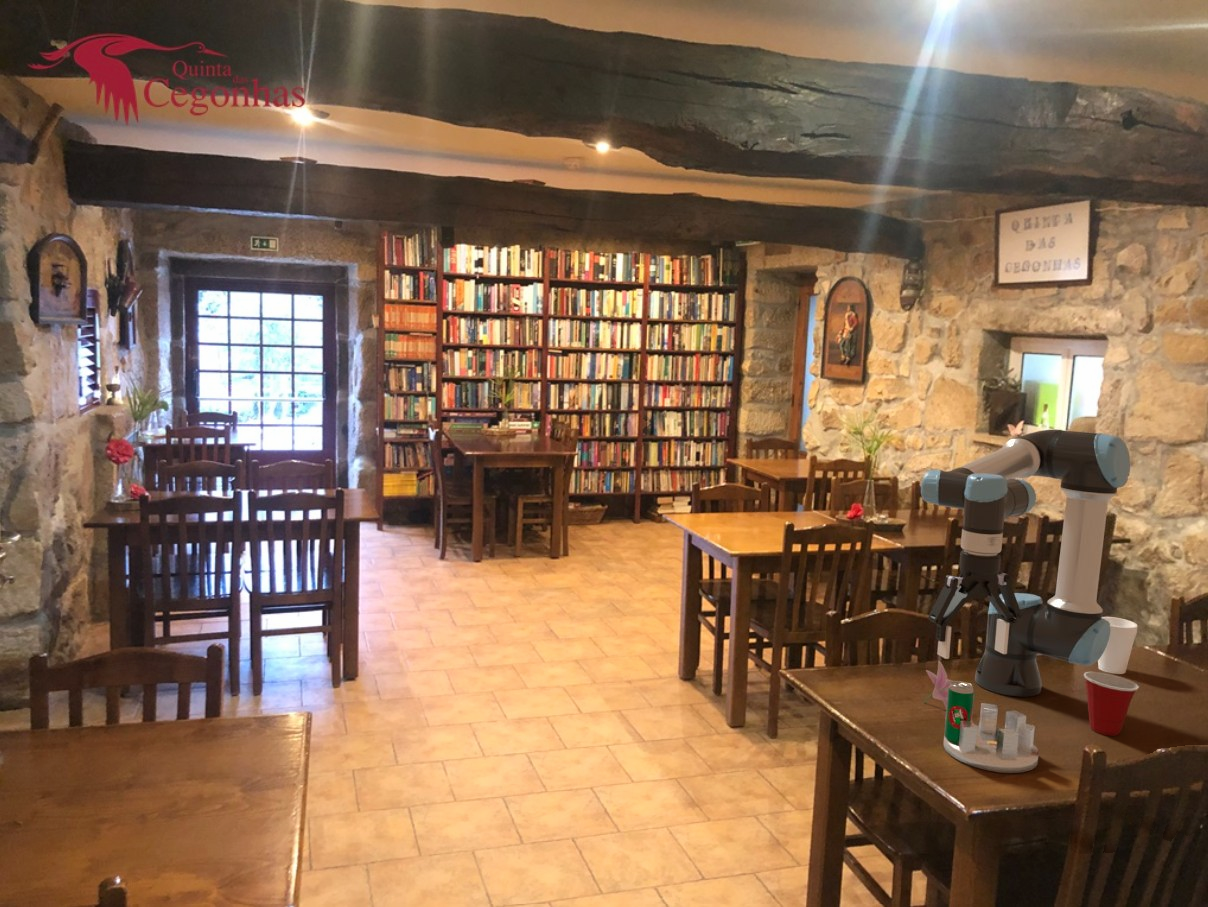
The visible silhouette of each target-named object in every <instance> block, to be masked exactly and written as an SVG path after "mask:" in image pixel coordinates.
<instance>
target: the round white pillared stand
mask: <svg viewBox="0 0 1208 907" xmlns="http://www.w3.org/2000/svg"><path fill="white" fill-rule="evenodd" d="M998 711H999V710H998V706H997V704H993V703H985V702H981V703H980V711H979V712H980V714H979V721H978V722H979V723H978V724H975V723H974V722H973V721H972V722H969V721H960V732H959V743H958V744H955V743H952V742H950V741H948V740H947V739H946V738H945V736H944V735H943V748H944V749H945V751H946V752H947V754H949V755H950V756H951V757H953V758H954V759H956V760H957V761H959V762H961V763H963V764H966V765H969V766H972V767H974V768H978V769H982V770H984V771H985V770H986V771H990V772H996V773H1003V774H1018V773H1019V774H1021V773H1026V772H1030V771H1031V770H1033V769H1035V768H1036V767H1037V766H1038V762H1039V749H1038V748H1037V746H1036V745H1035V744H1034V738H1035V729H1036V728H1035V727H1036V726H1035V725H1033V724H1028V723H1027V715H1025V714H1023V713H1021V712H1019V711H1018V710H1015V709H1014V710H1008V711H1007V710H1006V712H1005V721H1004V722H1005V723H1004V728H998V727H997V723H998V722H997V721H998Z"/></svg>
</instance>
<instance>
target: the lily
mask: <svg viewBox="0 0 1208 907" xmlns="http://www.w3.org/2000/svg"><path fill="white" fill-rule="evenodd" d="M937 662H938V663H937V670H936V671H937V672H936V674H935V673H934V672H932V671H930V670H927V669H926V670H925V671H926V674H927V675H928V677H929V678H930V680H931V681H932V684H933V685H934V688H933V691H932V693H931V694H929V695H928V697H927V698H925V700H924V701H923V704H925V703H926V702H927V701H928V700H929V698H930V697H932V698H933V699H935V700H939V701H942V702H943V704H944V707H945V709H946V708H947V696H948V687H949V686H950V685H951V684H950V683H951V682H952V681H954V680H953V679H948V674H947V672H946V670H945V667H944V665H943V664H942V662H941V660H937Z"/></svg>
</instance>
